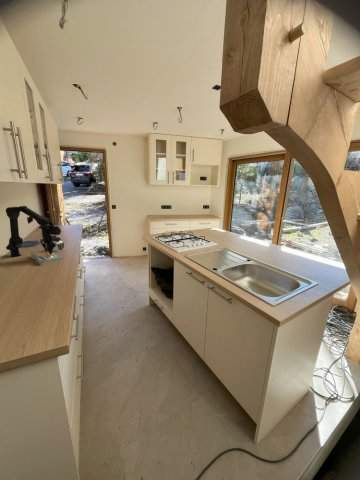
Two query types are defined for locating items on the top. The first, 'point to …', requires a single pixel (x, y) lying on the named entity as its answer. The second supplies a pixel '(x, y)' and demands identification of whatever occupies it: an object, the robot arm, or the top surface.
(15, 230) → the robot arm
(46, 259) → the resting mat
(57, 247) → the medicine bottle
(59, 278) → the top surface
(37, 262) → the gray wall
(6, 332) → the top surface
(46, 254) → the ball
